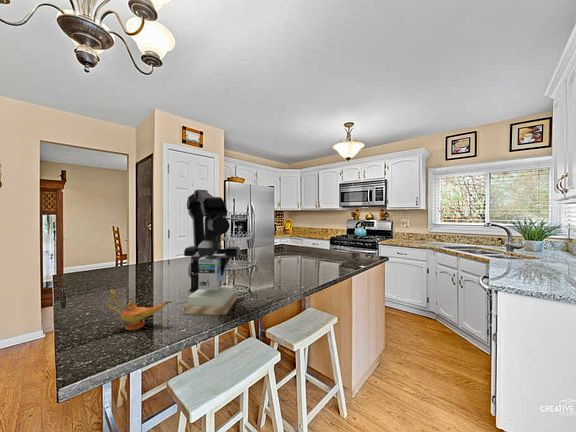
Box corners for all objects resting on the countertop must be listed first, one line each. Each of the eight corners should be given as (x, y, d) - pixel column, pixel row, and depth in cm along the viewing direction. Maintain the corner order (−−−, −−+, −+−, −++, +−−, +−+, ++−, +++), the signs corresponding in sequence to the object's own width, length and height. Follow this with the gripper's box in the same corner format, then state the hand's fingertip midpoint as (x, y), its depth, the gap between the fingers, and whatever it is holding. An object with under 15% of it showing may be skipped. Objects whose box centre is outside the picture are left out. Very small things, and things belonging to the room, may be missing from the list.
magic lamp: (169, 328, 74) (168, 291, 74) (101, 333, 72) (100, 293, 71) (175, 318, 81) (175, 284, 81) (113, 322, 78) (113, 286, 78)
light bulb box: (217, 290, 87) (217, 259, 87) (197, 290, 87) (197, 258, 87) (226, 281, 98) (226, 253, 98) (208, 281, 98) (208, 253, 98)
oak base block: (184, 316, 85) (184, 307, 85) (202, 299, 101) (202, 291, 101) (225, 317, 84) (225, 308, 84) (237, 300, 100) (237, 292, 100)
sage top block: (187, 305, 86) (187, 297, 86) (204, 292, 100) (204, 284, 100) (222, 306, 85) (222, 297, 85) (234, 293, 99) (234, 285, 99)
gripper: (176, 233, 84) (176, 281, 85) (232, 234, 84) (232, 282, 84) (190, 231, 96) (190, 272, 96) (240, 231, 95) (240, 273, 95)
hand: (212, 275), depth 93 cm, fingers closed on light bulb box, 7 cm apart
